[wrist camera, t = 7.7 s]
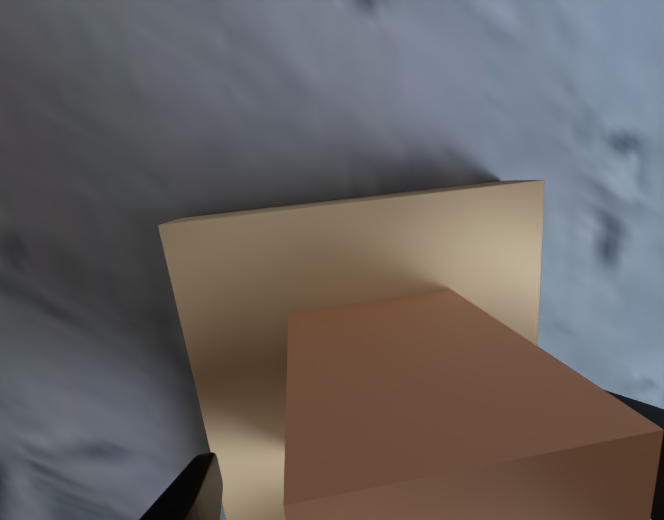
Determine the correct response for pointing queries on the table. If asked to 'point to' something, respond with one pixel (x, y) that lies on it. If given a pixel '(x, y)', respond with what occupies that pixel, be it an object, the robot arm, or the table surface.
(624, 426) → the block
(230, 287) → the base slab
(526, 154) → the table surface
